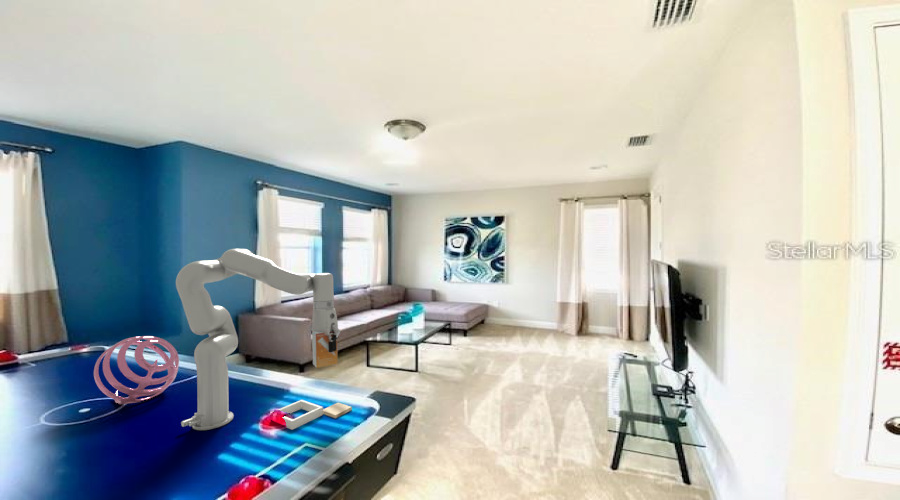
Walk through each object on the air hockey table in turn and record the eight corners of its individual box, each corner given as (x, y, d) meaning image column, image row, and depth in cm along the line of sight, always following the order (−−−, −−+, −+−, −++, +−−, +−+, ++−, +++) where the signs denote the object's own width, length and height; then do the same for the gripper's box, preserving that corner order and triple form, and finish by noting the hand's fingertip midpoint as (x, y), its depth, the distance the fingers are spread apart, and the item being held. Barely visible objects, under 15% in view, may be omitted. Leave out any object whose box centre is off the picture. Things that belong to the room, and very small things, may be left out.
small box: (316, 368, 129) (315, 333, 130) (312, 364, 135) (311, 330, 135) (338, 364, 134) (337, 330, 134) (333, 360, 139) (332, 327, 139)
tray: (292, 429, 122) (292, 421, 122) (270, 420, 129) (270, 412, 129) (323, 414, 133) (322, 406, 133) (301, 407, 140) (301, 399, 140)
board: (335, 418, 130) (335, 415, 130) (321, 413, 134) (321, 410, 134) (351, 409, 137) (351, 406, 137) (338, 405, 141) (337, 402, 141)
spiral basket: (74, 357, 146) (115, 322, 141) (150, 354, 171) (187, 325, 166) (76, 422, 134) (121, 387, 130) (158, 410, 160) (197, 380, 155)
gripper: (346, 304, 133) (347, 350, 133) (317, 302, 142) (318, 344, 142) (330, 308, 127) (332, 355, 127) (301, 305, 136) (302, 349, 136)
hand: (324, 349), depth 134 cm, fingers closed on small box, 8 cm apart
